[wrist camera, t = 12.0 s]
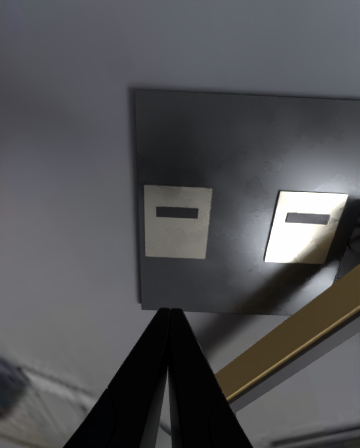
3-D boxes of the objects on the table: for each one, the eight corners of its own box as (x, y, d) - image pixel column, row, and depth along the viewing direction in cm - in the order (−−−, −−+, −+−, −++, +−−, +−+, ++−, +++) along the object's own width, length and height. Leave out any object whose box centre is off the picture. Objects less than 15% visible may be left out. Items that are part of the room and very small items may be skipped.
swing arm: (394, 203, 16) (465, 226, 12) (419, 230, 17) (495, 260, 13) (195, 365, 23) (198, 414, 19) (220, 379, 24) (228, 428, 20)
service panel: (466, 107, 14) (484, 106, 13) (365, 314, 21) (372, 321, 20) (136, 91, 14) (133, 88, 13) (142, 304, 21) (140, 311, 20)
